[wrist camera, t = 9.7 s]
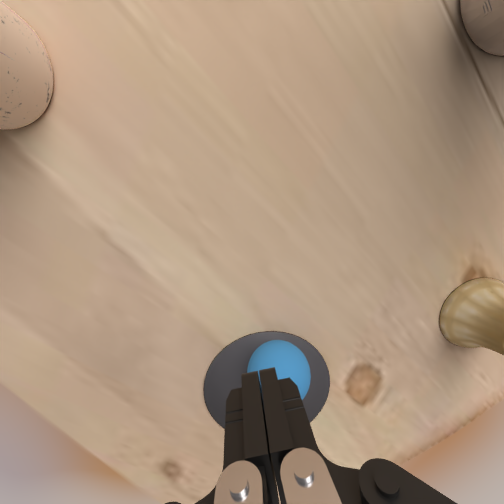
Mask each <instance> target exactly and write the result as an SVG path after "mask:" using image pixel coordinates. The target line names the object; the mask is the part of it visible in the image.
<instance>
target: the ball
mask: <svg viewBox="0 0 504 504" xmlns="http://www.w3.org/2000/svg"><path fill="white" fill-rule="evenodd" d="M272 367H275V370H276V374H277V378H278V380H279V379H284V378H289V377H290V379H291V380H292V381H293V382H294V383H295V384H296V385H297V386H298V389H299V393H300V396H301V399H302V400H303V399H304V397H305V396H306V394H307V392H308V389H309V386H310V380H311V373H310V367H309V364H308V361H307V359H306V357H305V356H304V354H303V353H302V351H301V350H300V349H299V348H298V347H296V346H295V345H293V344H292V343H290V342H287V341H284V340H271V341H268V342H265V343H263V344H262V345H260V346H259V347H258V348H257V349H256V350H255V351H254V353H253V354H252V356H251V358H250V360H249V363H248V368H247V373H249V372H253V371H258V374H259V370H263V369H268V368H272ZM259 379H260V375H259ZM260 384H261V382H260Z"/></svg>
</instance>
